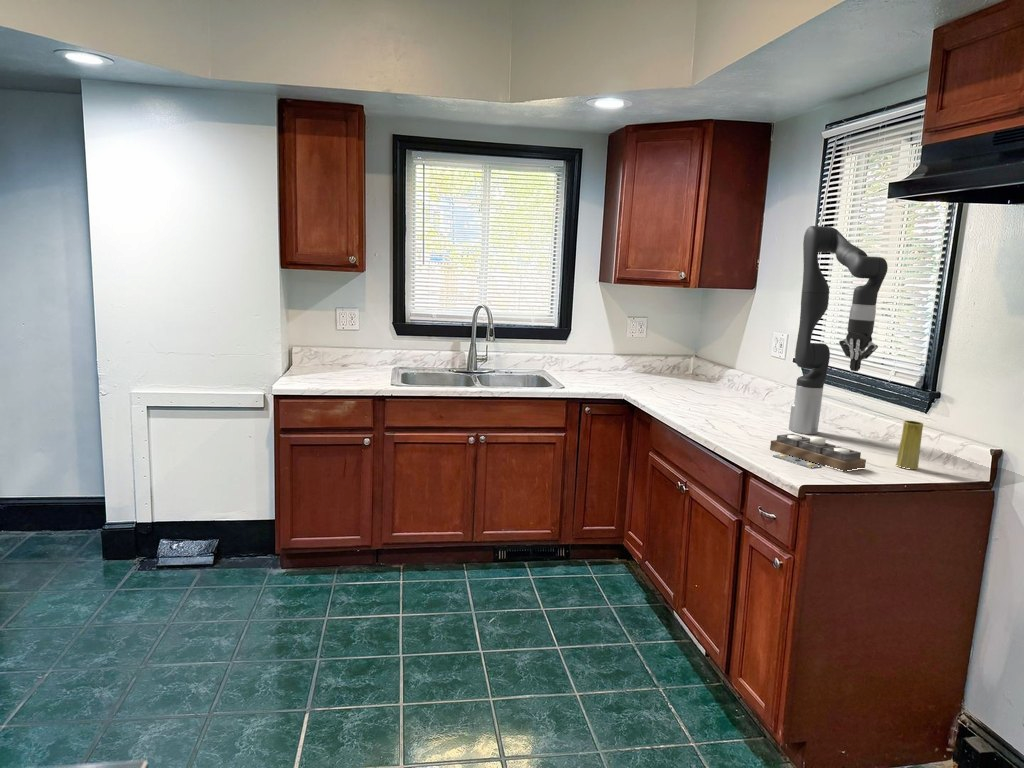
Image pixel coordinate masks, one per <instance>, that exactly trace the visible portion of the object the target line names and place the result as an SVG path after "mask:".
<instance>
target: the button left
mask: <svg viewBox="0 0 1024 768" xmlns="http://www.w3.org/2000/svg"><path fill="white" fill-rule="evenodd" d="M796 435H797V434H795V435H788V436H787V437H788V438H792V439H795V440H799V439H802V437H800V436H801V435H799V436H796Z"/></svg>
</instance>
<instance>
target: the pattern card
mask: <svg viewBox="0 0 1024 768" xmlns="http://www.w3.org/2000/svg"><path fill="white" fill-rule="evenodd" d="M772 457H773V458H777V459H779V460H782V459H783V460H782V461H785V460H787V461H786V462H789V461H790V463H792V462H793V463H792V464H795V463H797V464H796V465H798V464H800V465H799V466H801V465H803V466H802V467H804V466H807V467H806V468H808V467H818V466H822V465H818V464H815V463H812V462H809V461H805V460H802V459H799V458H796V457H792V456H789V455H786V454H783V453H780V454H779V453H778V454H772ZM818 468H819V467H818Z"/></svg>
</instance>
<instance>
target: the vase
mask: <svg viewBox="0 0 1024 768" xmlns="http://www.w3.org/2000/svg"><path fill="white" fill-rule="evenodd" d="M923 429H924V423H923V422H921V421H916V420H915V421H914V420H904V421H903V426H902V432H901V439H900V443H899V447H898V452H897V459H896V463H895V466H896V465H898V466H901V467H905V468H910V469H917V468H918V469H919V460H920V452H921V446H922V445H921V444H922V437H923ZM918 469H917V470H918Z"/></svg>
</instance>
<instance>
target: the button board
mask: <svg viewBox="0 0 1024 768" xmlns="http://www.w3.org/2000/svg"><path fill="white" fill-rule="evenodd" d="M788 435H796V436H800V437H802V439H799V440H795V439H792V438H788V437H787V436H788ZM810 438H811V437H805V436H803V435H799V434H795V433H788V434H787V433H786V434H779V435H778V434H777V436H776V439H775V440H771V441H770V445H769V450H771V451H773V452H777V453H779V452H780V454H786V455H790V456H793V457H795V458H796V457H797V458H800V459H803V460H808V462H809V461H811V462H815V463H819V464H822V465H827V466H830V467H833V468H837V469H840V470H843V471H847V470H852V469H857V468H865V469H866V462H867V459H866V458H862V457H861V456H862V454H861V451H857V450H853V449H849V448H846V447H843V446H839V445H838V446H836V445H835V444H831V443H828V442H825V446H816V445H813V444H810ZM834 448H843V449H847V450H850V453H841V452H838V451H834ZM822 465H821V466H822Z"/></svg>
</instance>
